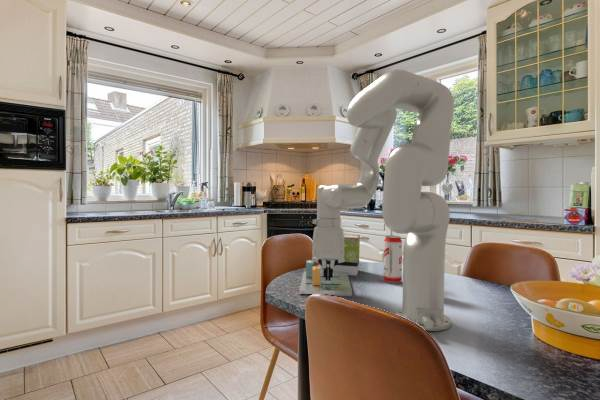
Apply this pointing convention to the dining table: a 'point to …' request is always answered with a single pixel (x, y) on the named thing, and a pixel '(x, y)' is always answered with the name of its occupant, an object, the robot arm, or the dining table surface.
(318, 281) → the fader orange
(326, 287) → the console
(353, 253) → the tea box
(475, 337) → the dining table surface
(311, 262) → the fader teal
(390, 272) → the beer can
